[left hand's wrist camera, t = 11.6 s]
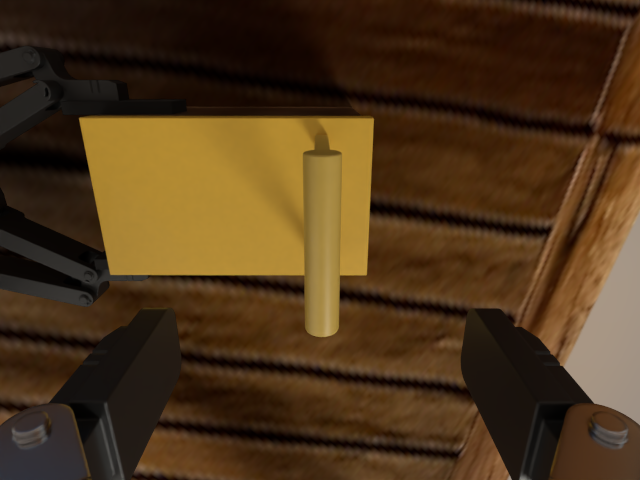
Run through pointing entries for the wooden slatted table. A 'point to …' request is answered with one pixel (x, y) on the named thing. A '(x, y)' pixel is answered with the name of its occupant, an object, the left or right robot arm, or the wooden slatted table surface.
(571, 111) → the wooden slatted table surface
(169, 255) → the lid
